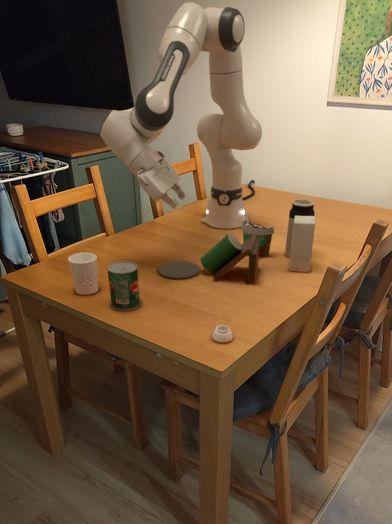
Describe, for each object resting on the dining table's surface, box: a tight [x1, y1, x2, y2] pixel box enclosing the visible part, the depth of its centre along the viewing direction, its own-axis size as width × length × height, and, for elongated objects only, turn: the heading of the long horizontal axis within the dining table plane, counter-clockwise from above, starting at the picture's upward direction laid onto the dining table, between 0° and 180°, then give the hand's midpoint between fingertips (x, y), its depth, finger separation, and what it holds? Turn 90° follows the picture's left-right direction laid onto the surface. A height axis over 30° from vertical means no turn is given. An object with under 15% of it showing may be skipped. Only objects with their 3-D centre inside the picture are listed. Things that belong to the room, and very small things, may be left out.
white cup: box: [67, 252, 99, 296], centre depth 133 cm, size 8×8×10 cm
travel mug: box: [284, 198, 316, 258], centre depth 153 cm, size 8×8×18 cm
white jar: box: [211, 324, 234, 343], centre depth 112 cm, size 5×3×5 cm
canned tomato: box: [106, 260, 141, 312], centre depth 125 cm, size 8×8×11 cm
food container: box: [240, 220, 275, 258], centre depth 156 cm, size 12×6×10 cm, turn 47°
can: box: [199, 233, 242, 274], centre depth 142 cm, size 6×13×13 cm, turn 78°
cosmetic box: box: [289, 215, 316, 273], centre depth 145 cm, size 8×7×16 cm
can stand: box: [213, 235, 260, 285], centre depth 142 cm, size 12×12×11 cm
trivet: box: [158, 260, 201, 280], centre depth 147 cm, size 13×13×1 cm
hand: (180, 202), depth 136 cm, fingers open, 8 cm apart
